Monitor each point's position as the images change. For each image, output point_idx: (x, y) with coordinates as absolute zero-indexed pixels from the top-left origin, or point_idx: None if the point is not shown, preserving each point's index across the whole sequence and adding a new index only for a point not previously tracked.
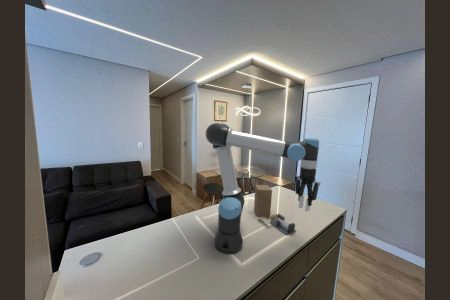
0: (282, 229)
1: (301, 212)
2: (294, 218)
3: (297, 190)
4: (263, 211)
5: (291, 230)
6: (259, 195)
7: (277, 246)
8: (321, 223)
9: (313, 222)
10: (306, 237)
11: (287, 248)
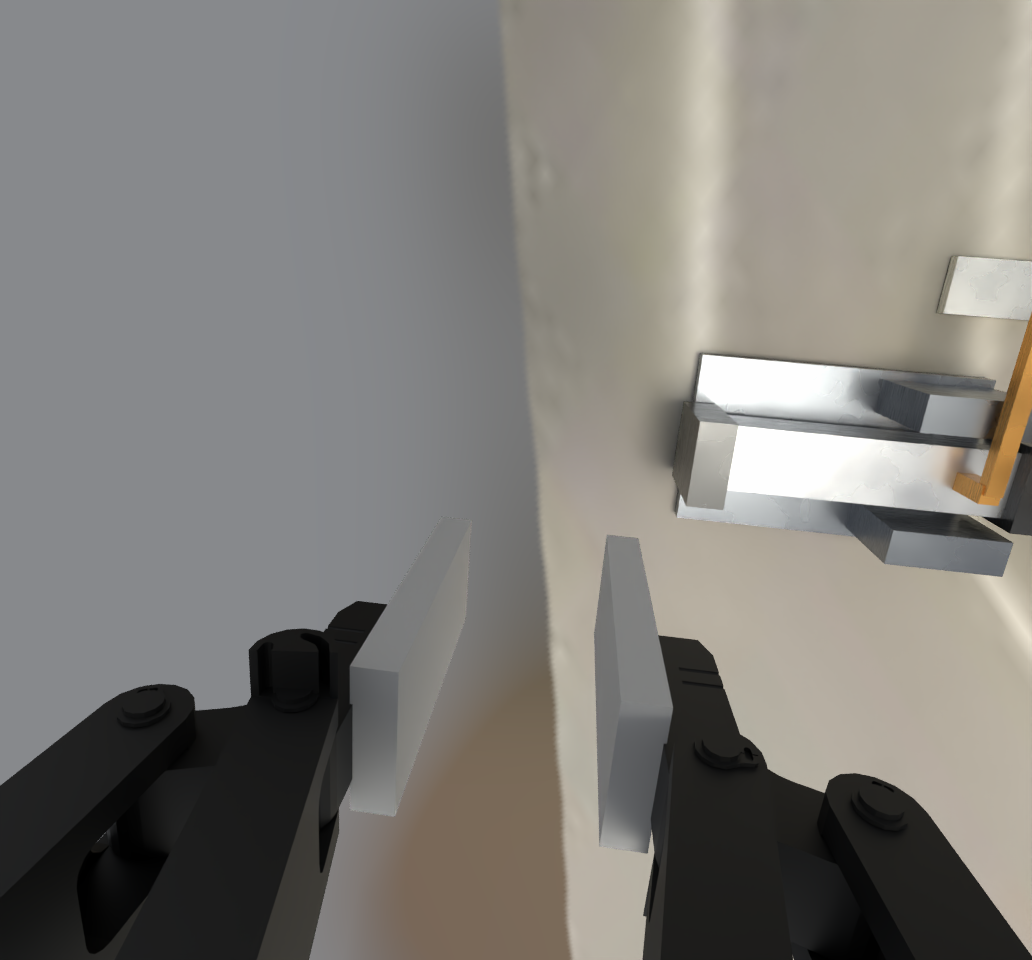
0: (788, 394)
1: None
2: (827, 729)
3: (892, 921)
4: None
5: (685, 429)
6: None
7: (648, 80)
8: (590, 851)
9: None
10: (551, 514)
11: (562, 164)
